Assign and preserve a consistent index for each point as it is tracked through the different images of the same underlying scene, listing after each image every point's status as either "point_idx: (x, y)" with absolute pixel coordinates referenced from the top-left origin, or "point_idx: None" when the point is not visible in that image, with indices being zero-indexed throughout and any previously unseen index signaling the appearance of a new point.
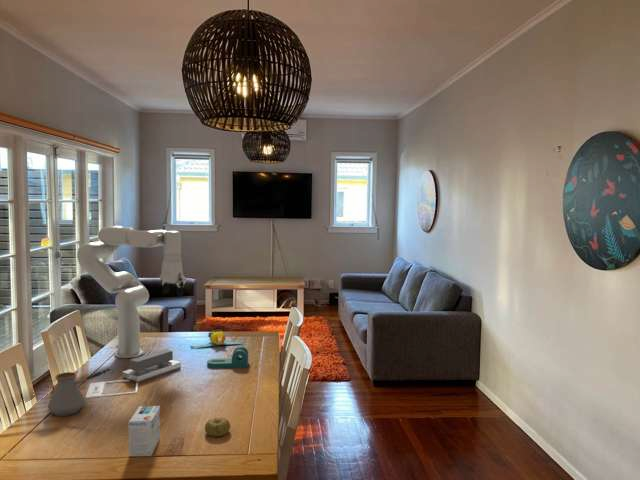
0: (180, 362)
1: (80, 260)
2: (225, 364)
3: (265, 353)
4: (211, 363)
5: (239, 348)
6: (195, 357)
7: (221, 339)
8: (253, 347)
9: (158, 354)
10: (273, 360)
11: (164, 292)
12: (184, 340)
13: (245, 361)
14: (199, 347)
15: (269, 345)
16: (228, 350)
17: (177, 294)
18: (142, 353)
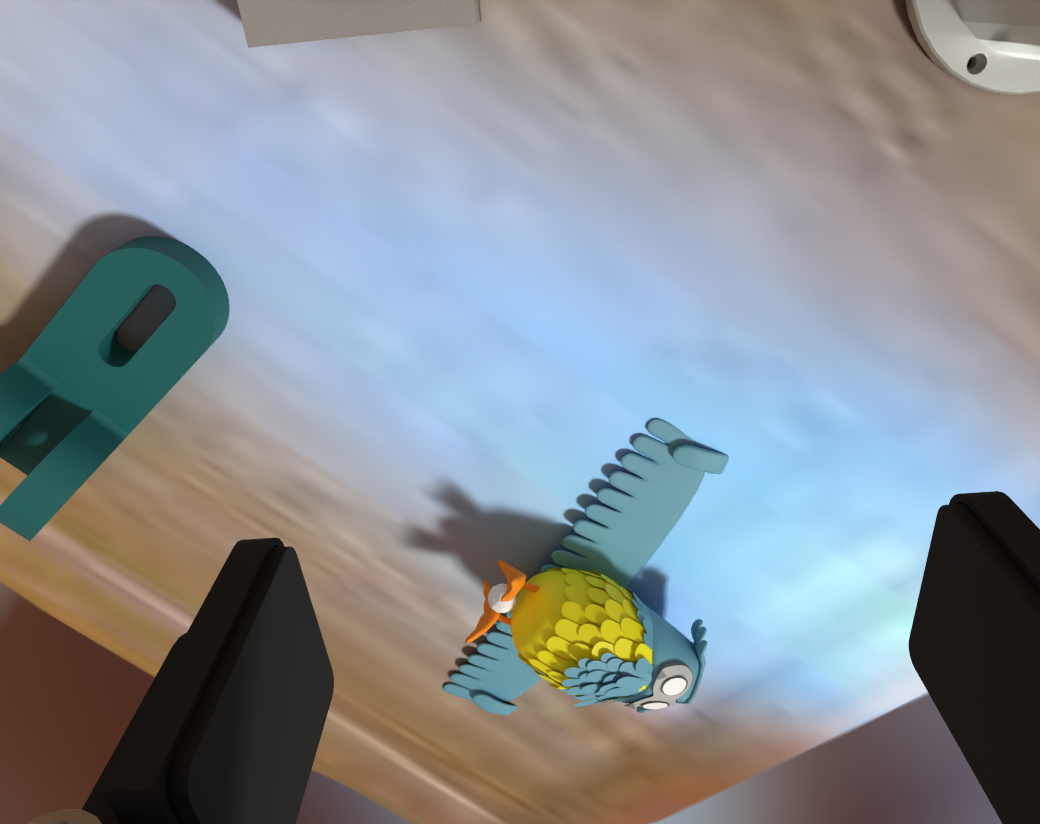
0: (249, 45)
1: None
2: (49, 324)
3: None
4: (109, 254)
5: (10, 495)
6: (451, 318)
7: (492, 608)
8: (349, 676)
9: None
10: (30, 595)
11: (959, 542)
12: (884, 515)
13: None
14: (619, 472)
15: None
16: (413, 557)
17: (226, 574)
18: (918, 33)
